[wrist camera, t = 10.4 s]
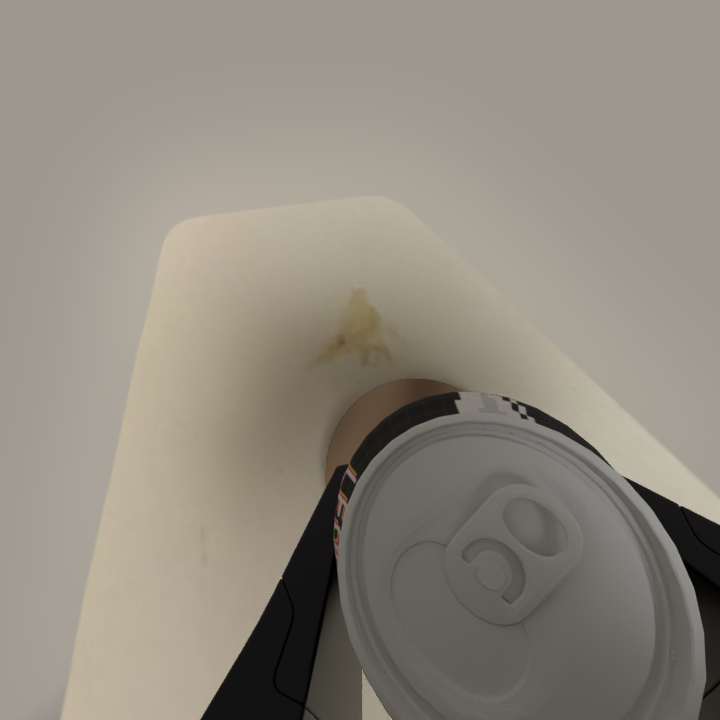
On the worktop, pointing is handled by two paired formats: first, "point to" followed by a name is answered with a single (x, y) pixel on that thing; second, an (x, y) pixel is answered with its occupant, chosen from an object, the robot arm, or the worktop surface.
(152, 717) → the worktop surface
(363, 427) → the bronze round coaster
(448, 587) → the beverage can
